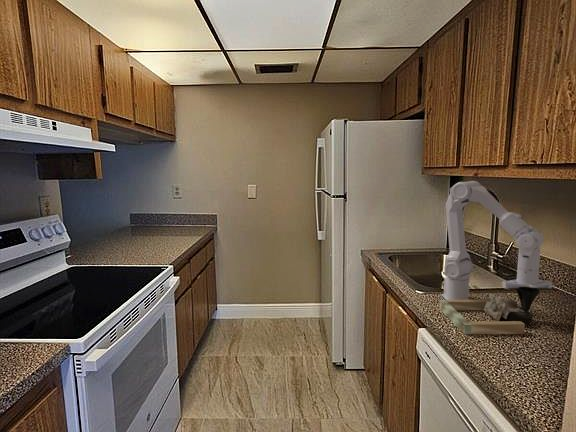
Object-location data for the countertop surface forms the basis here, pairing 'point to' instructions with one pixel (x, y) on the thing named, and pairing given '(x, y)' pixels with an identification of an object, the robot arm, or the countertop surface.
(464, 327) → the frame
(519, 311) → the caster wheel
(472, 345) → the countertop surface
